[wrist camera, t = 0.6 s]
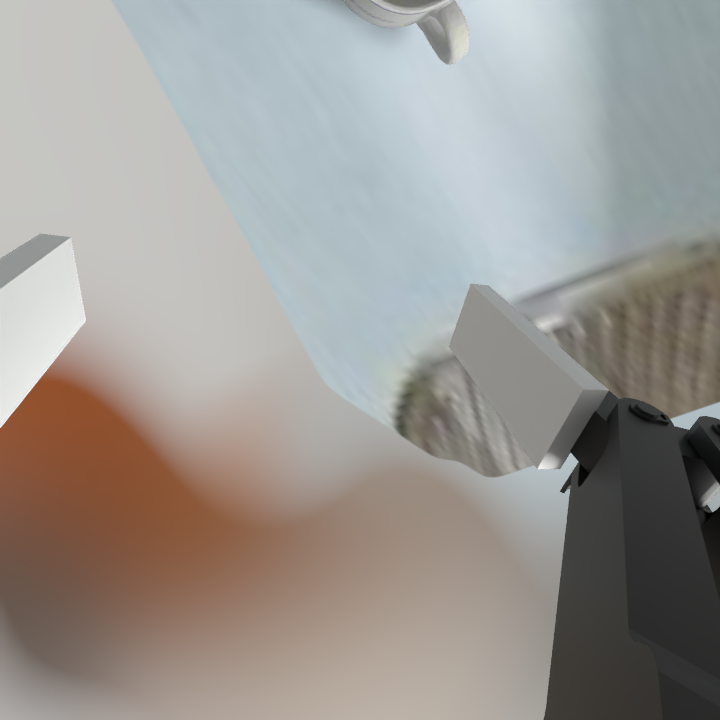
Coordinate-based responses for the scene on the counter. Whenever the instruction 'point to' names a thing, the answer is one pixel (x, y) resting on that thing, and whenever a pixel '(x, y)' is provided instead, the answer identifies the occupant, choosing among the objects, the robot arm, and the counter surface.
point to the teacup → (421, 22)
